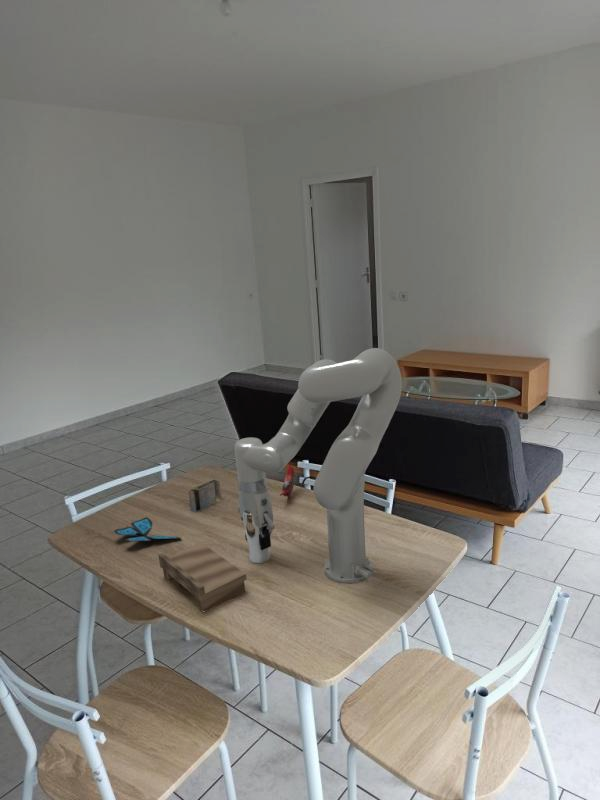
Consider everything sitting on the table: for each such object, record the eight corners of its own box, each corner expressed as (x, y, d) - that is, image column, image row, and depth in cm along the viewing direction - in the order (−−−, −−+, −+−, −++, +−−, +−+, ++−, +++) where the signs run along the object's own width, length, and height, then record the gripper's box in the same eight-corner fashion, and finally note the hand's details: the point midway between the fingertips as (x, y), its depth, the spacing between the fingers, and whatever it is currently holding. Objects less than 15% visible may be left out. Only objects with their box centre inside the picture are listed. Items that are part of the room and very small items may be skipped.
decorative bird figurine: (297, 489, 204) (295, 463, 202) (285, 512, 188) (283, 484, 185) (289, 489, 205) (287, 462, 202) (277, 512, 189) (274, 484, 186)
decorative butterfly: (106, 533, 180) (106, 525, 179) (148, 520, 190) (148, 512, 189) (139, 560, 166) (138, 550, 165) (182, 543, 176) (182, 535, 175)
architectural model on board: (196, 513, 193) (193, 486, 190) (190, 511, 195) (187, 484, 192) (222, 501, 201) (219, 475, 198) (216, 499, 203) (213, 473, 200)
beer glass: (244, 564, 160) (239, 514, 156) (250, 551, 166) (245, 503, 162) (269, 564, 158) (264, 514, 154) (274, 551, 165) (269, 503, 161)
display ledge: (247, 591, 147) (245, 567, 145) (203, 614, 140) (199, 588, 138) (203, 558, 164) (201, 536, 162) (161, 577, 156) (158, 554, 154)
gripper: (283, 488, 152) (288, 549, 157) (245, 471, 165) (251, 528, 170) (259, 497, 148) (265, 560, 152) (223, 479, 161) (229, 537, 166)
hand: (258, 542), depth 161 cm, fingers closed on beer glass, 6 cm apart
